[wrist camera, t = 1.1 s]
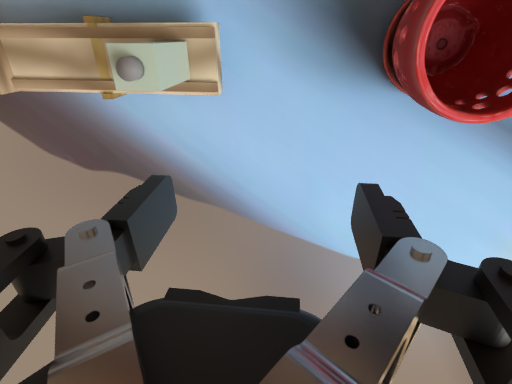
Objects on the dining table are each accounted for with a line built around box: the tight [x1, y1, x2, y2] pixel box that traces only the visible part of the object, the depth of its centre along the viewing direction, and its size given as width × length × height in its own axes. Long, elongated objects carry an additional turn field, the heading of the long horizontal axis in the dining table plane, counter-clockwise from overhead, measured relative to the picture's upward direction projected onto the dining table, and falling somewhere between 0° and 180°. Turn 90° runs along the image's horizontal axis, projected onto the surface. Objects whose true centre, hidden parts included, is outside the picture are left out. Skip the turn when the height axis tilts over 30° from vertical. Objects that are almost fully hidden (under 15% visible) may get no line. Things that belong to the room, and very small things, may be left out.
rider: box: [106, 42, 190, 91], centre depth 27 cm, size 4×4×9 cm
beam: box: [0, 16, 222, 99], centre depth 33 cm, size 8×26×8 cm, turn 90°
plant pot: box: [383, 0, 512, 124], centre depth 27 cm, size 13×13×12 cm
